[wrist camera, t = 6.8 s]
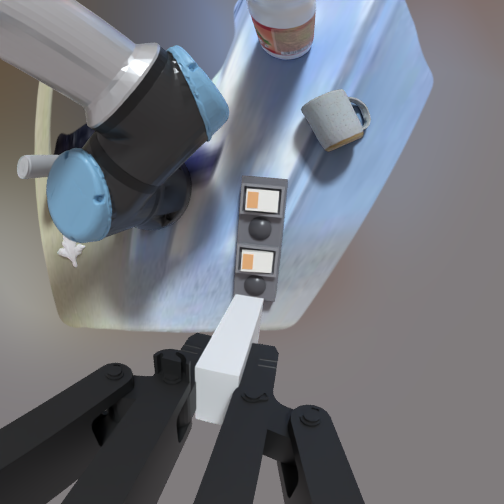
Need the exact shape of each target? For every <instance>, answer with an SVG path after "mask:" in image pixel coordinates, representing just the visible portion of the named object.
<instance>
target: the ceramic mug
mask: <svg viewBox="0 0 504 504" xmlns="http://www.w3.org/2000/svg"><path fill="white" fill-rule="evenodd" d="M350 102H352V103H354V104H356V105H357V106H358V107H359V108H360V110H361V113H362V115H363V119H364V125H363V127H362V125H361V123H360V121H359V119H358V117H357V115H356V113H355V111H354V109H353V107H352V105H351V103H350ZM301 111H302V113H303V114H304V116H305V118H306V119H307V121H308V123H309V125H310V127H311V128H312V130H313V132H314V133H315V135H316V137H317V139H318V141H319V143H320V144H321V146H322V147H323V148H324V149H325V150H326V151H328V152H330V151H332V150H334V149H337V148H339V147H341V146H343V145H346V144H348V143H350V142H353V141H355V140H357V139H360V138H362V137H363V134H364V133H363V130H364V129H366V128H367V127H368V126H369V124H370V120H371V118H370V113H369V111H368V108H367V107H366V105H365V104H364V103H363V102H362V101H360V100H359V99H356V98H353V97H348V96H347V94H346V93H345V91H344V90H342V89H340V90H334V91H331V92H328V93H325V94H323V95H321V96H319V97H316V98H314V99H312V100H311V101H309V102H308V103H306V104H305V105H304V106H303V107H302V109H301Z"/></svg>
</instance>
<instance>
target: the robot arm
mask: <svg viewBox="0 0 504 504" xmlns="http://www.w3.org/2000/svg"><path fill="white" fill-rule="evenodd" d="M0 59H2V60H4V61H6V62H7V63H9V64H11V65H13V66H14V67H16V68H18V69H20V70H22V71H23V72H25V73H27V74H29V75H30V76H32V77H34V78H36V79H37V80H39V81H41V82H43V83H44V84H46V85H48V86H49V87H51V88H53V89H55V90H56V91H58V92H60V93H61V94H63V95H65V96H66V97H68V98H70V99H71V100H73V101H75V102H76V103H78V104H80V105H81V106H83V107H84V109H85V113H86V119H87V125H88V126H89V127H90V128H92V129H94V130H95V132H94V133H93V135H92V136H91V137H90V139H89V140H88V141H87V143H86V144H85V145H84V147H83V148H82V149H80V148H73V149H71V150H69V151H66V152H63V153H62V154H61V155H60V156H58V157H57V159H56V160H55V161H54V163H53V165H52V167H51V169H50V172H49V175H48V179H47V189H46V194H47V203H48V208H49V212H50V215H51V217H52V220H53V222H54V224H55V225H56V227H57V228H58V230H59V231H60V232H61V233H62V234H63V235H64V236H65V237H66V238H68V239H69V240H71V241H73V242H78V243H87V242H93V241H100V240H102V239H103V238H105V237H108V236H110V235H113V234H116V233H119V232H121V231H124V230H127V229H130V228H133V227H136V228H139V229H143V230H158V229H161V228H164V227H166V226H169V225H171V224H173V223H174V222H175V221H177V220H178V219H179V218H180V217H181V215H182V214H183V213H184V211H185V209H186V208H187V205H188V203H189V200H190V195H191V179H190V175H189V171H188V169H187V167H186V165H185V163H184V162H185V161H186V160H187V159H188V158H189V157H190V156H191V155H192V154H193V153H194V152H195V151H196V150H197V149H198V148H199V147H201V146H202V145H203V144H204V143H205V142H206V141H207V142H208V141H210V140H211V137H212V135H213V134H214V133H215V132H216V131H217V130H218V129H219V128H220V127H221V126H222V125H223V124H224V123H225V122H226V121H227V119H228V117H229V108H228V105H227V103H226V101H225V99H224V98H223V96H222V95H221V93H220V92H219V90H218V89H217V88H216V86H215V85H214V84H213V82H212V81H211V80H210V78H209V77H208V76H207V75H206V73H205V72H204V71H203V70H202V69H201V68H200V67H198V65H197V63H196V62H195V61H194V60H193V58H192V57H191V56H190V55H189V54H188V53H187V52H186V51H185V50H184V49H183V48H182V47H180V46H178V45H176V46H174V47H170V48H169V49H168V50H167V52H166V51H165V50H164V49H163V48H162V47H161V46H159V45H158V44H157V43H146V44H135V43H133V42H132V41H131V40H130V39H128V38H127V37H126V36H124V35H123V34H122V33H120V32H119V31H118V30H116V29H115V28H114V27H112V26H111V25H109V24H108V23H107V22H105V21H104V20H103V19H101V18H100V17H99V16H97V15H96V14H94V13H93V12H91V11H90V10H88V9H87V8H86V7H84V6H83V5H81V4H80V3H78V2H77V1H75V0H0ZM263 301H264V299H263V298H257V297H251V296H244V295H238V294H236V295H235V296H234V298H233V300H232V302H231V303H230V305H229V307H228V309H227V311H226V312H225V314H224V316H223V318H222V320H221V321H220V323H219V325H218V327H217V329H216V330H215V332H214V334H213V336H209V335H205V334H200V333H196V334H194V335H192V336H191V337H189V338H188V340H187V341H186V342H185V344H184V345H183V347H182V348H181V350H174V349H165V350H161V351H158V352H157V353H155V354H154V356H153V357H154V367H155V374H154V375H153V376H135V375H133V373H132V371H131V369H130V368H129V367H128V366H126V365H124V364H121V363H111V364H107V365H105V366H103V367H101V368H100V369H98V370H96V371H95V372H93V373H91V374H90V375H88V376H87V377H85V378H83V379H82V380H80V381H79V382H77V383H75V384H74V385H72V386H70V387H69V388H67V389H66V390H64V391H62V392H61V393H59V394H58V395H56V396H54V397H53V398H51V399H49V400H48V401H46V402H44V403H43V404H41V405H39V406H38V407H36V408H35V409H33V410H32V411H30V412H28V413H26V414H25V415H23V416H21V417H20V418H18V419H16V420H15V421H13V422H11V423H10V424H8V425H7V426H5V427H3V428H1V429H0V504H46V503H48V502H49V501H50V500H52V499H53V498H54V497H55V496H57V495H58V494H59V493H61V492H62V491H63V490H65V489H66V488H67V487H68V486H70V485H71V484H72V483H74V482H75V481H76V480H77V479H78V481H77V482H76V484H75V485H74V486H73V488H72V489H71V491H70V492H69V493H68V495H67V496H66V497H65V499H64V500H63V502H62V503H61V504H157V502H158V500H159V497H160V495H161V493H162V491H163V489H164V487H165V484H166V483H167V480H168V478H169V476H170V474H171V472H172V469H173V467H174V465H175V463H176V461H177V459H178V457H179V454H180V452H181V450H182V448H183V445H184V443H185V441H186V439H187V437H188V434H189V432H190V430H191V427H192V417H193V415H194V413H195V412H196V419H199V420H203V421H207V422H211V423H216V424H220V425H222V426H221V429H220V432H219V435H218V438H217V440H216V443H215V446H214V449H213V452H212V454H211V457H210V460H209V463H208V466H207V468H206V471H205V474H204V476H203V479H202V482H201V485H200V487H199V490H198V493H197V495H196V498H195V501H194V503H193V504H253V499H254V495H255V490H256V485H257V480H258V475H259V470H260V465H261V459H262V455H266V456H268V457H270V458H272V459H275V460H277V465H278V470H279V476H280V481H281V486H282V492H283V497H284V502H285V504H365V503H364V501H363V498H362V495H361V493H360V490H359V488H358V485H357V483H356V480H355V478H354V475H353V473H352V470H351V468H350V465H349V462H348V460H347V458H346V455H345V452H344V450H343V447H342V445H341V442H340V440H339V438H338V435H337V432H336V430H335V427H334V425H333V423H332V420H331V417H330V416H329V414H328V413H327V412H326V411H325V410H324V409H322V408H320V407H317V406H314V405H303V406H299V407H297V408H296V409H294V410H293V409H291V408H288V407H286V406H284V405H282V404H280V403H279V402H278V401H277V400H276V399H275V397H274V395H273V388H274V381H275V375H276V368H277V361H278V354H279V353H278V352H277V350H276V348H275V346H269V345H263V344H257V343H258V338H259V330H260V323H261V316H262V308H263ZM105 410H106V411H105Z"/></svg>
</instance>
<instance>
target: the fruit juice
mask: <svg viewBox="0 0 504 504" xmlns="http://www.w3.org/2000/svg"><path fill="white" fill-rule="evenodd" d="M247 5H248V9H249V12H250V14H251V17H252V20H253V23H254V26H255V29H256V32H257V35H258V39H259V42H260V44H261V46H262V48H263V49H264V50H265V51H266V52H267V53H268V54H270V55H271V56H273V57H276V58H279V59H286V60H288V59H295V58H298V57H301V56H303V55H304V54H306V53H307V52H308V51H309V49H310V48H311V46H312V43H313V37H314V25H315V12H316V0H247Z"/></svg>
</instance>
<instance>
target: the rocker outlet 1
mask: <svg viewBox="0 0 504 504" xmlns="http://www.w3.org/2000/svg"><path fill="white" fill-rule="evenodd" d="M278 200H279V191H272V190H261V189H248V188H247V192H246V205H245V210H250V211H263V212H275V213H277V211H278Z"/></svg>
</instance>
